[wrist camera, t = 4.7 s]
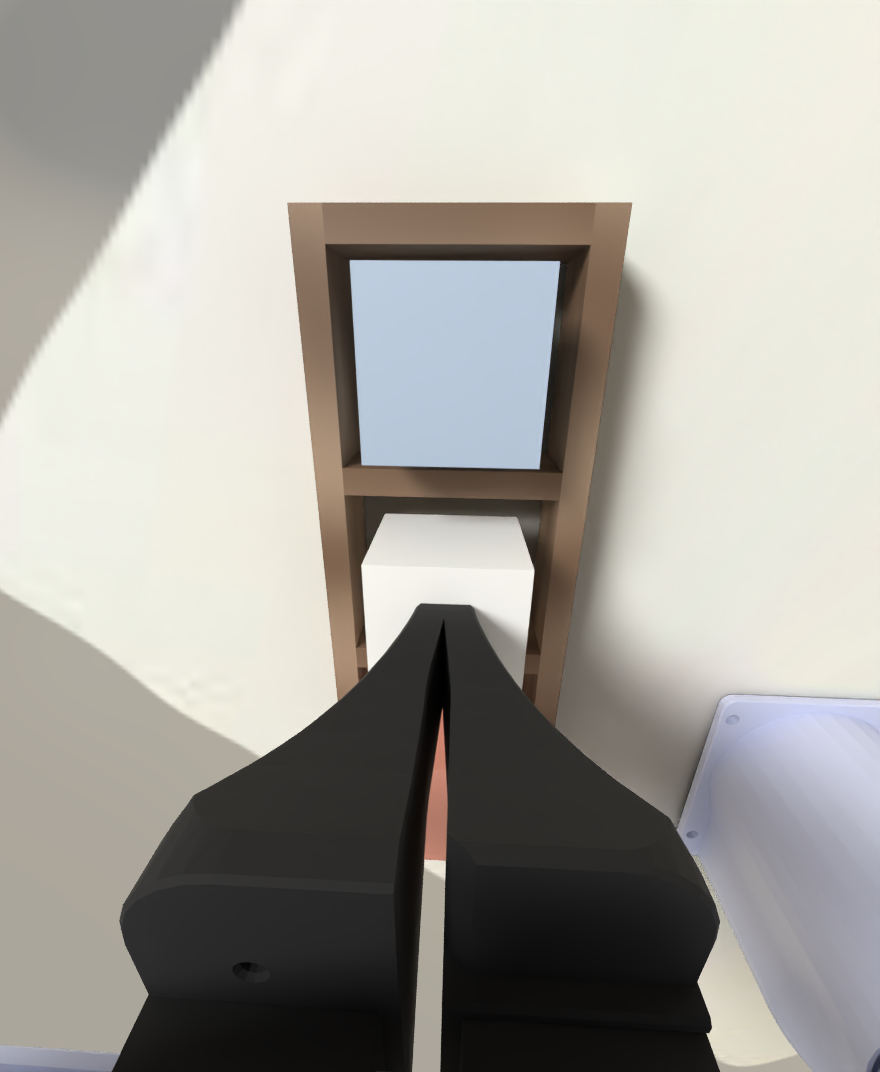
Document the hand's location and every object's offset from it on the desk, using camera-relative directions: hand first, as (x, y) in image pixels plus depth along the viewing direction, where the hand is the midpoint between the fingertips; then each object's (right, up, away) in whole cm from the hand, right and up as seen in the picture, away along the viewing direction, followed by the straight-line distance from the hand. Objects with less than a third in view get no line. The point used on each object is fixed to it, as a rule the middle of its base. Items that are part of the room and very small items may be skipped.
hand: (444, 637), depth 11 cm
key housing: (0, +2, +5) cm, 6 cm away
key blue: (0, +7, +1) cm, 7 cm away
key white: (0, +1, +3) cm, 4 cm away
